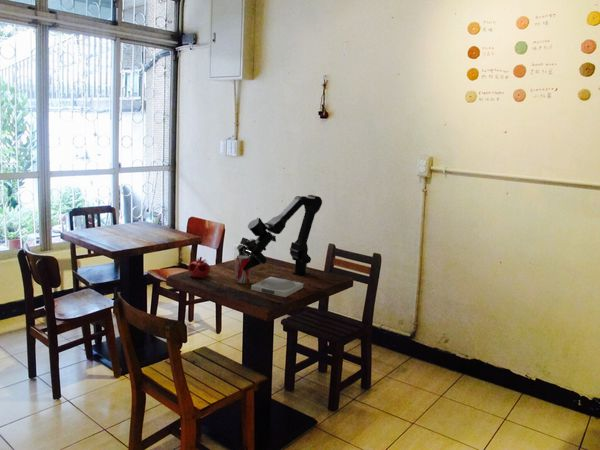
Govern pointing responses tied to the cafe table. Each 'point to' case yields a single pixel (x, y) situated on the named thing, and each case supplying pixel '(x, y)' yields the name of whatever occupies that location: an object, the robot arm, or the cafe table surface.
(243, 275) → the soda can
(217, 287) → the cafe table surface
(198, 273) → the pomegranate
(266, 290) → the scale
